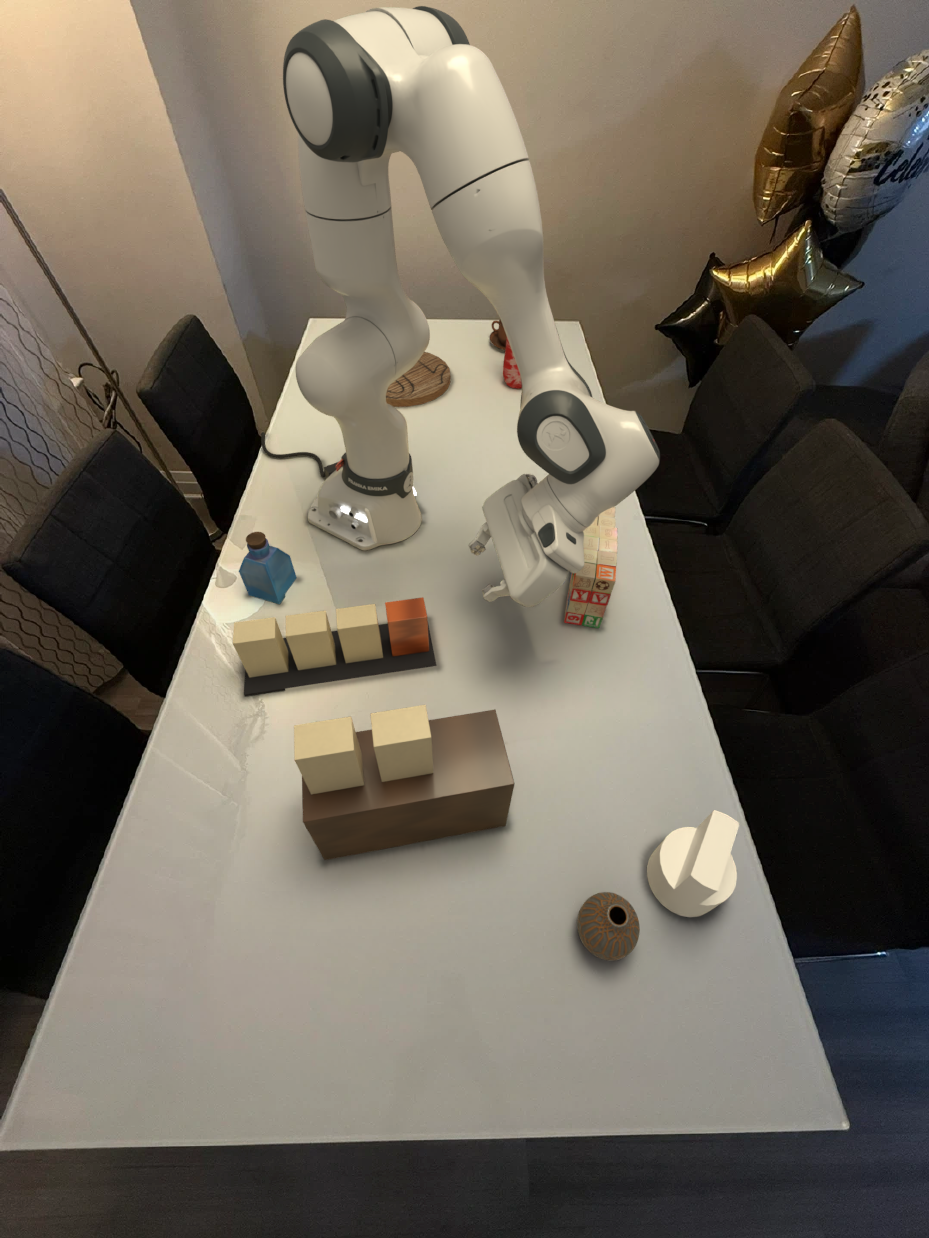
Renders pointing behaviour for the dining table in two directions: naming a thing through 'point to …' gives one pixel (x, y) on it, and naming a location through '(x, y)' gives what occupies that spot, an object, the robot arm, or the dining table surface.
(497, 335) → the cappuccino
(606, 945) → the vase
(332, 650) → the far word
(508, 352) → the water bottle
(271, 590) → the perfume bottle
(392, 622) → the orange wooden block
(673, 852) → the cylinder with rectangular tab
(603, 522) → the stack of blocks
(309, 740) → the brown wooden block
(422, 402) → the trivet
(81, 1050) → the dining table surface
